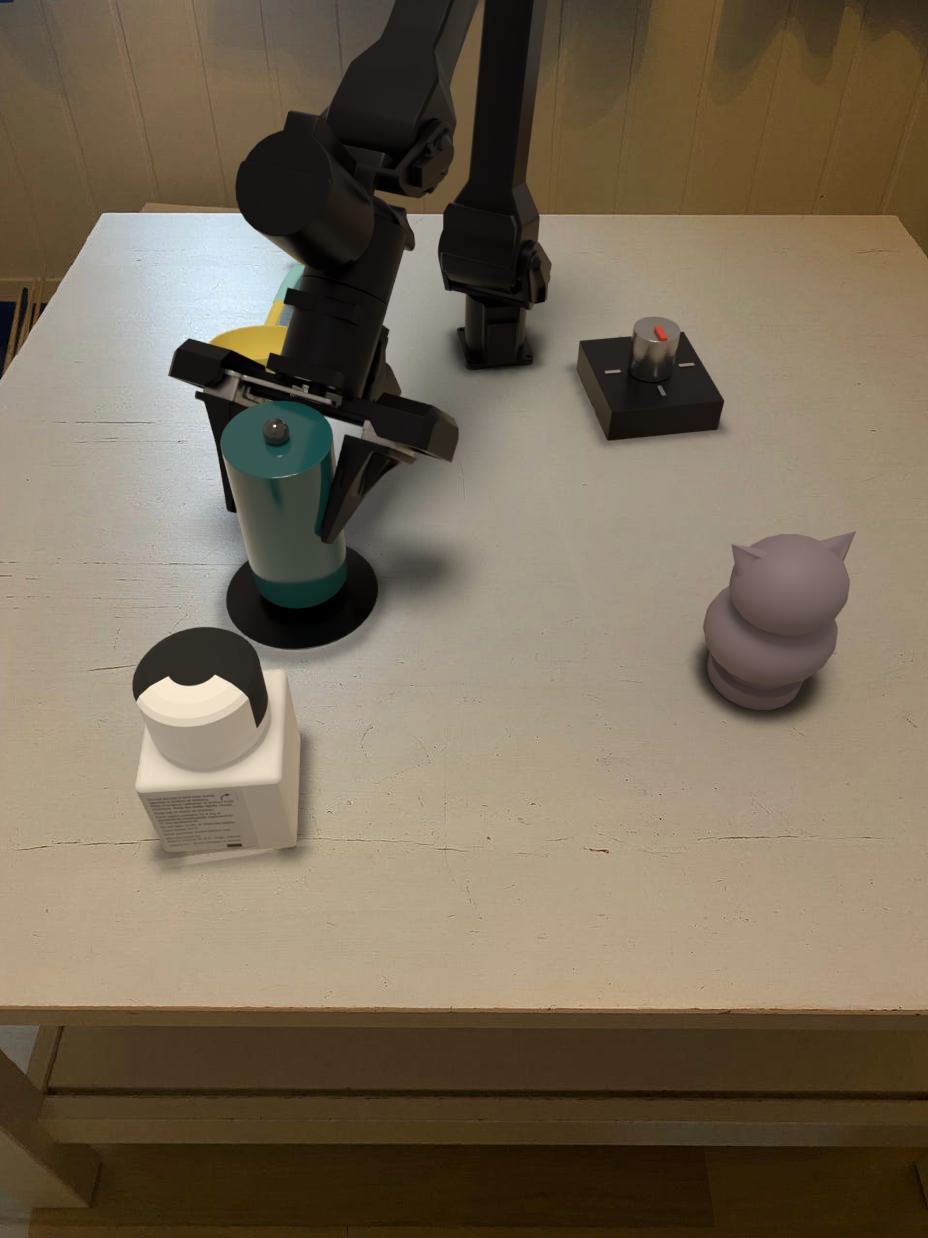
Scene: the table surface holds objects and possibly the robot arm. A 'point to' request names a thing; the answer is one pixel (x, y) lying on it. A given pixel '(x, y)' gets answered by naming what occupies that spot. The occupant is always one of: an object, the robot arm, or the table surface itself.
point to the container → (216, 744)
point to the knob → (653, 349)
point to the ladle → (262, 328)
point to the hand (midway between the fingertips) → (279, 527)
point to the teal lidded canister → (285, 500)
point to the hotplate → (303, 610)
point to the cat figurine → (776, 618)
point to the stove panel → (647, 391)
